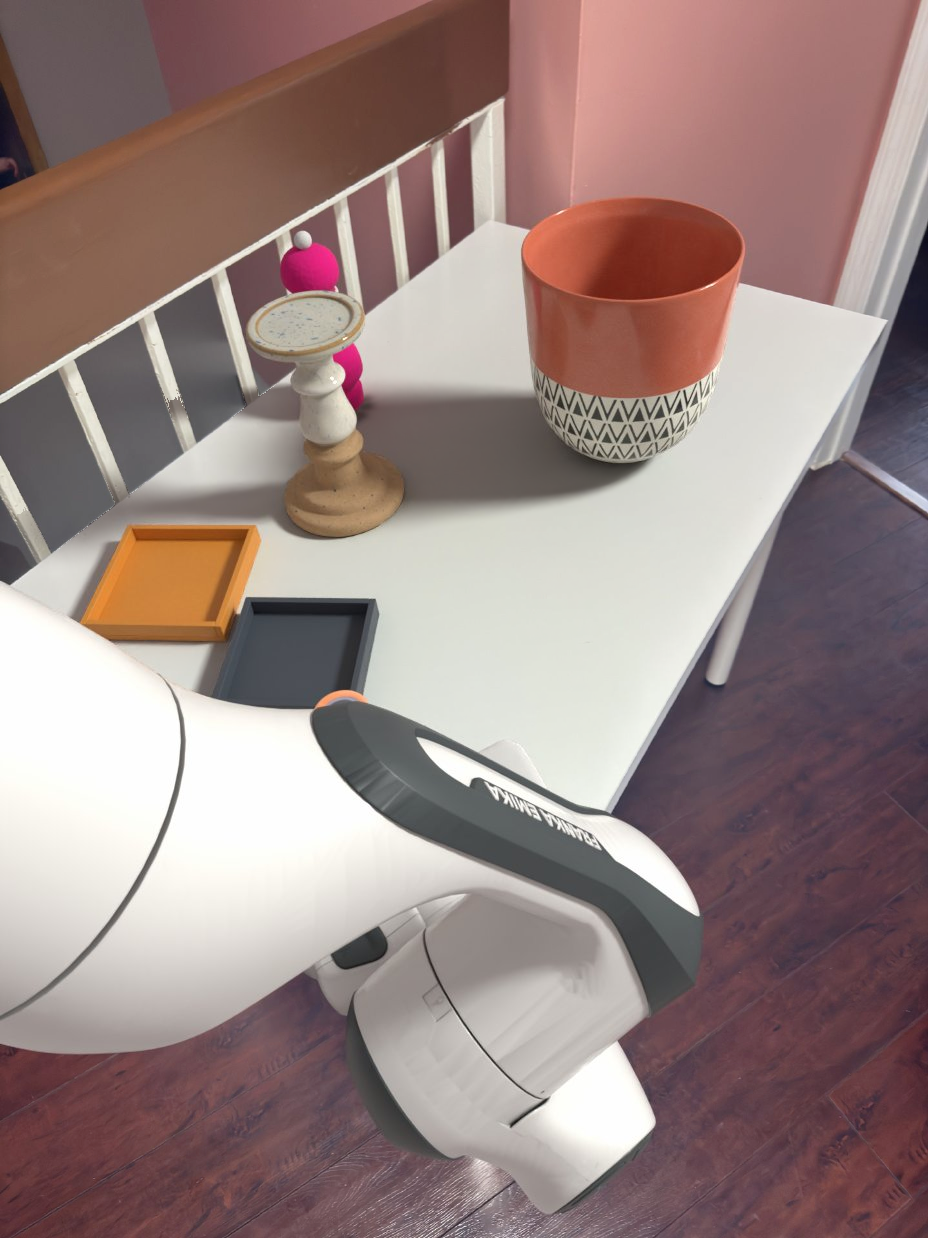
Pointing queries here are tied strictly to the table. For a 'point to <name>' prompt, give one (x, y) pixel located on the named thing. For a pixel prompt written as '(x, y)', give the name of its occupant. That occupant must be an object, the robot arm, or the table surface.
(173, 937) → the robot arm
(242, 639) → the slate tray
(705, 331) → the planter
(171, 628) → the amber tray
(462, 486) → the table surface
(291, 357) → the candle holder
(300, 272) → the pepper mill
